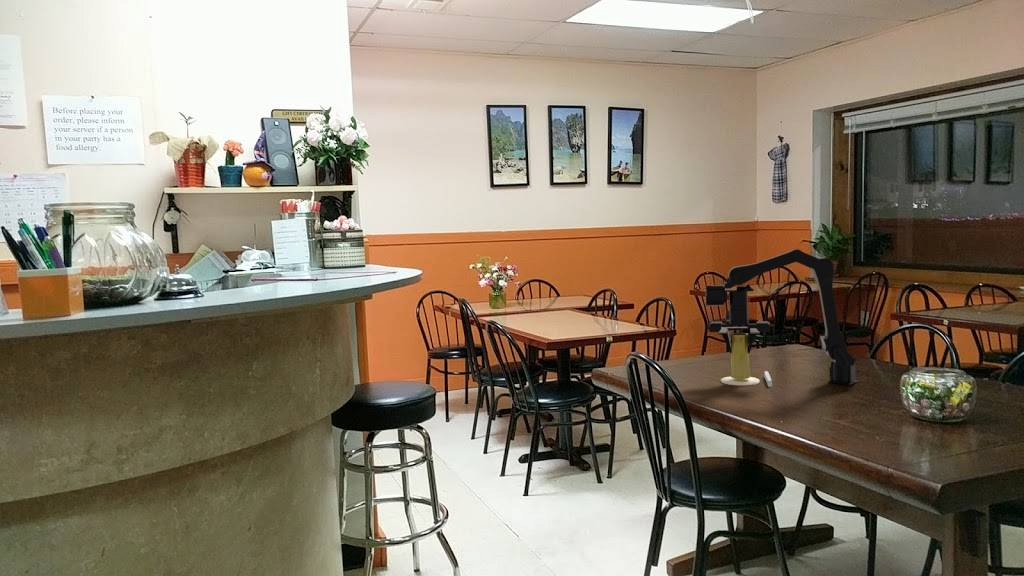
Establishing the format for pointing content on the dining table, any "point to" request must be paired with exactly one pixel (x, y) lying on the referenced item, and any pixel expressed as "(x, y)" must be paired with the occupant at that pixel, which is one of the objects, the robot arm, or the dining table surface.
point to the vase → (739, 356)
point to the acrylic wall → (768, 379)
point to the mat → (740, 381)
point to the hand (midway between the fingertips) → (739, 353)
